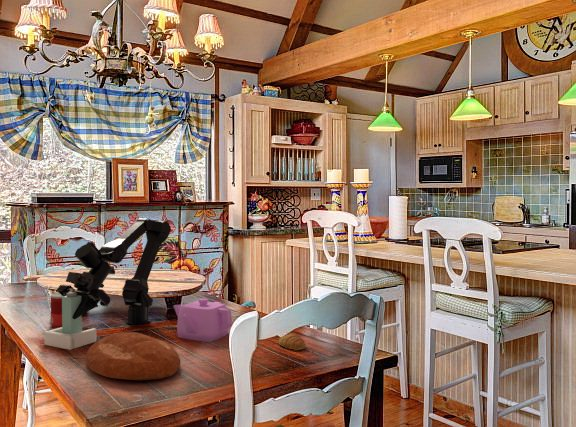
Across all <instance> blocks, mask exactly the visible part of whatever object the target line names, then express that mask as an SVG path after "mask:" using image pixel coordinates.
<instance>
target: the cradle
mask: <svg viewBox="0 0 576 427" xmlns="http://www.w3.org/2000/svg"><path fill="white" fill-rule="evenodd" d="M95 342H97V328H93V327H92V328H89V329H86V330H82V332H78V333H75V334H71V335H69V334H64V333H62V327H60V328H54V329H50V330H46V331H44V345H45V346H50V347H55V348H59V349H64V350H73V349H77V348H80V347H83V346H86V345H90V344H92V343H93V344H94V343H95Z"/></svg>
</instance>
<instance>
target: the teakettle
mask: <svg viewBox="0 0 576 427" xmlns="http://www.w3.org/2000/svg"><path fill="white" fill-rule="evenodd" d="M173 309H174V311H175V314H176V316H177V324H176V325H177V326H176V333H177V336H178V338H181V339H184V340H191V341H197V342H203V343H211V342H215V341H217V340H219V339H222V338H223V337H225V336H227V335H228V332H229V329H230V328H231V327H233V320H232V319H233V318H232V316H233V315H232V309H229V308H227V306H226V303H222V302H221V301H209V299H208V298H199V299H198V300H195V301H192V302H188V303H185V304H182V305H181V304H174V305H173Z"/></svg>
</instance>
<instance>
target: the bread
mask: <svg viewBox="0 0 576 427" xmlns="http://www.w3.org/2000/svg"><path fill="white" fill-rule="evenodd" d="M85 360H86V364H87V366H88V367H89V369H90V370H91V371H92V372H94V373H95V374H99V375H100V376H103V377H107V378H111V379H118V380H120V379H121V380H129V381H150V380H162V379H166V378H168V377H171V376H173V375H174V374H176V373H177V372H178V370H179V369H180V367H181V357H180V355H179V353H178V351H177V350H176V349H175V347H173V346H172V344H170V343H169V342H167V341H164V340H161V339H158V338H154V337H151V336H149V335H146V334H143V333H140V332H135V331H134V332H128V331H127V332H122V331H121V332H116V333H113V334H109V335H106V336H104V337H102V339H100V340H98V341H96V342H93V344H92V345H91V346H90V347H89V349H88V350H87V353H86V359H85Z"/></svg>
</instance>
